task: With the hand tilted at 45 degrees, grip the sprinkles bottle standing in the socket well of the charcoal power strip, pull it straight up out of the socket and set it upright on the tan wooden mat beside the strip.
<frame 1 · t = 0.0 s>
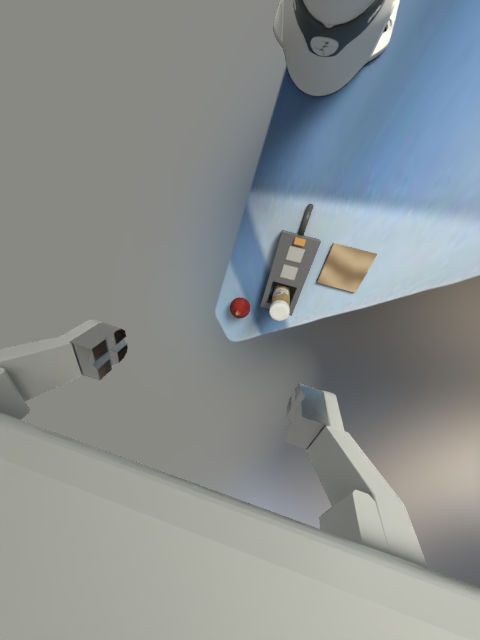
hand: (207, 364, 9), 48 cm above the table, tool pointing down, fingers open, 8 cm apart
wooden mat: (344, 268, 50), on the table
sprinkles bottle: (281, 290, 57), resting in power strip
onion: (242, 302, 61), on the table
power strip: (287, 273, 54), on the table
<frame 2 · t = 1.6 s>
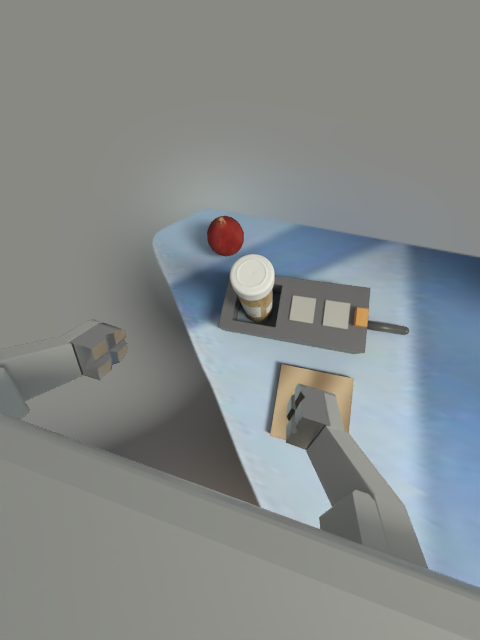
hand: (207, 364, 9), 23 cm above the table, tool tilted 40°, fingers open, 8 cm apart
wooden mat: (310, 406, 29), on the table
sprinkles bottle: (258, 309, 33), resting in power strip
onion: (230, 250, 36), on the table
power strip: (289, 313, 32), on the table
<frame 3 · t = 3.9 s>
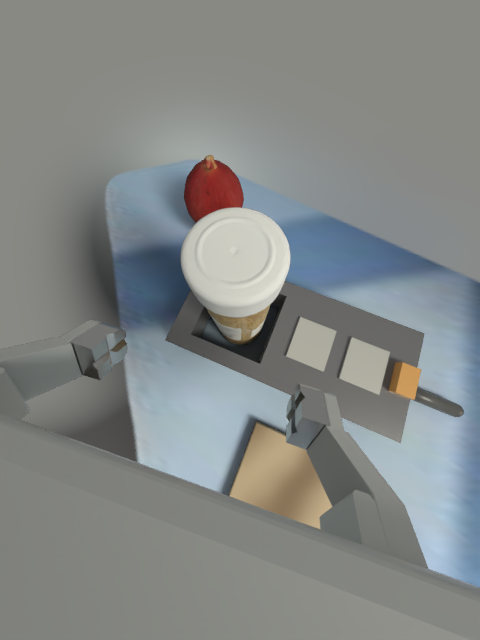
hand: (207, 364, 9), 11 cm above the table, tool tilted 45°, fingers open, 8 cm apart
wooden mat: (288, 504, 17), on the table
sprinkles bottle: (240, 323, 21), resting in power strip
onion: (218, 226, 24), on the table
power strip: (285, 342, 20), on the table
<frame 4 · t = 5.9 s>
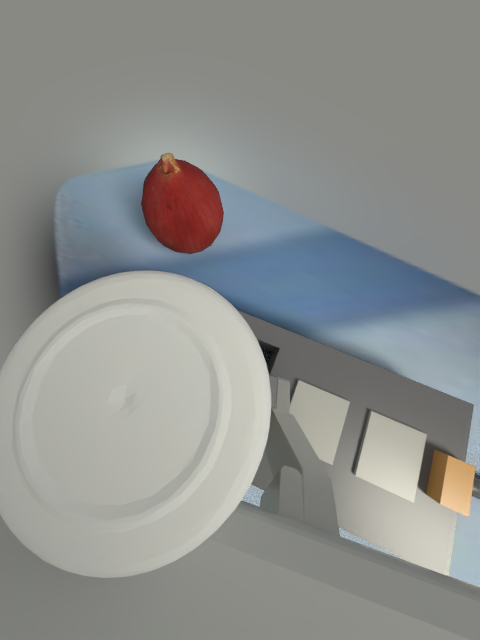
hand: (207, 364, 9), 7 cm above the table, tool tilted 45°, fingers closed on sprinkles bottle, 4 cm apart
sprinkles bottle: (220, 373, 16), resting in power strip, touching gripper
onion: (196, 243, 19), on the table
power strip: (279, 400, 15), on the table
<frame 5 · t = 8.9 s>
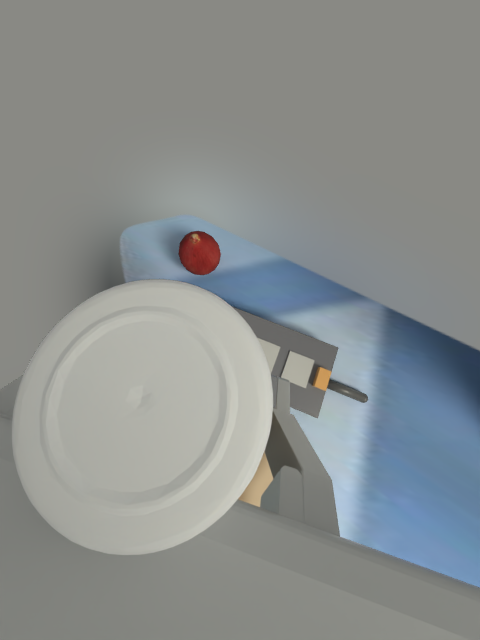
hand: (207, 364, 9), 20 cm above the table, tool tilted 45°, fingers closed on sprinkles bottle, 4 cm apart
wooden mat: (250, 462, 26), on the table
sprinkles bottle: (219, 372, 17), point 12 cm above the table, touching gripper
onion: (204, 267, 33), on the table
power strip: (251, 352, 29), on the table
when the fingers open (9 cm above the table, at t = 12.1 s): sprinkles bottle stays where it is, resting on wooden mat.
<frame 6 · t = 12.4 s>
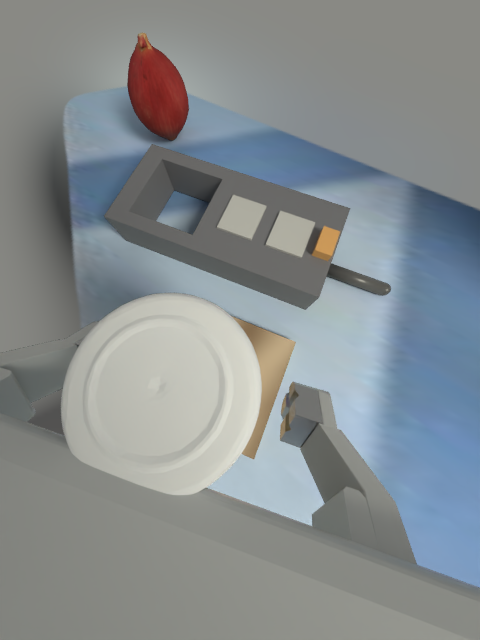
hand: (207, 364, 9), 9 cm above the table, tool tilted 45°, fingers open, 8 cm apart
wooden mat: (222, 373, 18), on the table
sprinkles bottle: (221, 371, 18), point 1 cm above the table, touching wooden mat
onion: (172, 140, 25), on the table
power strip: (229, 237, 21), on the table
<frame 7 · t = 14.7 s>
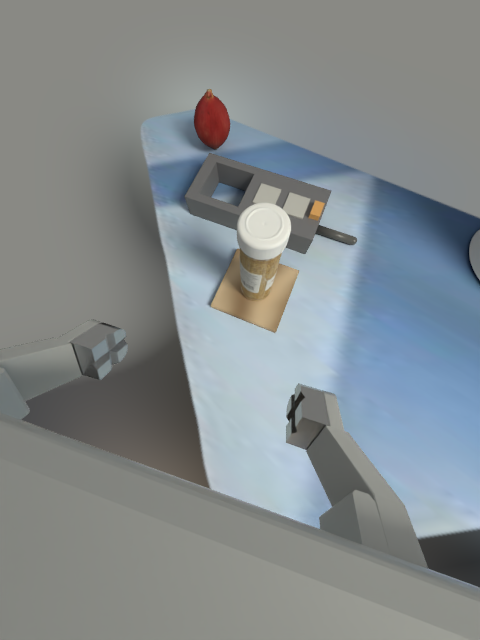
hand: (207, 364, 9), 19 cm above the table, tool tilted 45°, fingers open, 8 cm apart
wooden mat: (255, 290, 30), on the table
sprinkles bottle: (255, 287, 30), point 1 cm above the table, touching wooden mat
onion: (215, 148, 37), on the table
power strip: (256, 211, 33), on the table
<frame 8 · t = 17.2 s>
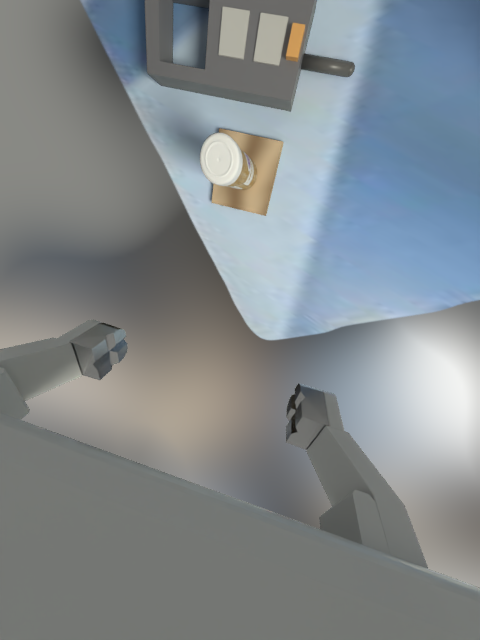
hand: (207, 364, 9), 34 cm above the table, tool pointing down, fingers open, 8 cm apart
wooden mat: (245, 175, 34), on the table
sprinkles bottle: (244, 174, 33), point 1 cm above the table, touching wooden mat
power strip: (229, 51, 27), on the table
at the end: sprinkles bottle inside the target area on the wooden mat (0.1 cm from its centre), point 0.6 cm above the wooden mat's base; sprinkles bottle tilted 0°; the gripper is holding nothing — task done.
